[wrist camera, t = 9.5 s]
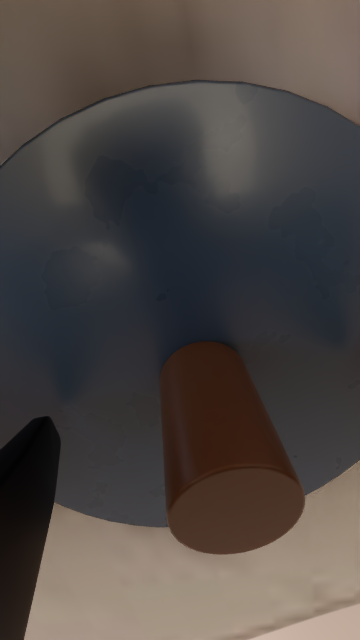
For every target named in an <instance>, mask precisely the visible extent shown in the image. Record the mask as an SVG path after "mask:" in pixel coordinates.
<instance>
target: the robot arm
mask: <svg viewBox="0 0 360 640" xmlns="http://www.w3.org/2000/svg"><path fill="white" fill-rule="evenodd" d="M60 449H61V439H60V436H59V434H58V431H57V429H56V427H55V425H54V423H53V421H52V419H51V418H50V417H49V416H43V417H38V418H34V419H32V420H31V421H30V422H29V423H28V424H27V425H26V426H25V427H24V428H23V429H22V430H21V431H19V432H18V433H17V434H16V435H15V436H14V437H13V438H12V439H11V440H10V441H9V442H8V443H7V444H6V445H5V446H4V447H2V448H1V449H0V640H24V636H25V632H26V627H27V623H28V618H29V614H30V609H31V605H32V600H33V596H34V591H35V587H36V582H37V578H38V573H39V569H40V564H41V560H42V555H43V551H44V546H45V542H46V537H47V533H48V528H49V523H50V519H51V514H52V510H53V505H54V500H55V493H56V485H57V476H58V467H59V458H60Z"/></svg>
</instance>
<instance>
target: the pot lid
mask: <svg viewBox="0 0 360 640" xmlns="http://www.w3.org/2000/svg"><path fill="white" fill-rule="evenodd" d="M43 416H49V417H50V418H51V419H52V421H53V423H54V425H55V427H56V429H57V431H58V434H59V436H60V439H61V449H60V458H59V467H58V476H57V485H56V493H55V500H54V502H56V503H58V504H60V505H62V506H64V507H67V508H69V509H72V510H75V511H78V512H80V513H83V514H86V515H89V516H93V517H96V518H100V519H104V520H108V521H112V522H118V523H123V524H129V525H136V526H147V527H169V529H170V531H171V533H172V534H173V536H174V537H175V538H176V539H177V540H178V541H179V542H180V543H182V544H183V545H185V546H186V547H188V548H190V549H193V550H196V551H199V552H203V553H209V554H236V553H242V552H247V551H251V550H254V549H257V548H260V547H263V546H265V545H267V544H269V543H271V542H273V541H275V540H277V539H278V538H280V537H281V536H283V535H284V534H286V533H287V532H288V531H289V530H290V529H291V528H292V527H293V526H294V525H295V524H296V523H297V521H298V520H299V518H300V516H301V514H302V512H303V509H304V505H305V495H307V494H309V493H311V492H313V491H315V490H316V489H318V488H320V487H322V486H323V485H325V484H326V483H328V482H330V481H331V480H333V479H334V478H336V477H337V476H339V475H340V474H342V473H343V472H344V471H346V470H347V469H348V468H350V467H351V466H352V465H354V464H355V463H356V462H358V461H359V460H360V126H359V125H357V124H355V123H354V122H352V121H350V120H349V119H347V118H345V117H344V116H342V115H340V114H339V113H337V112H335V111H334V110H332V109H331V108H329V107H327V106H325V105H322V104H320V103H317V102H314V101H312V100H309V99H307V98H304V97H302V96H299V95H297V94H294V93H291V92H289V91H285V90H281V89H276V88H271V87H266V86H261V85H257V84H252V83H247V82H238V81H213V80H191V81H183V82H174V83H166V84H158V85H149V86H146V87H142V88H139V89H135V90H132V91H128V92H125V93H121V94H118V95H115V96H111V97H108V98H104V99H102V100H100V101H97V102H95V103H93V104H91V105H89V106H87V107H85V108H83V109H80V110H78V111H76V112H74V113H72V114H70V115H68V116H65V117H63V118H61V119H60V120H58V121H57V122H55V123H54V124H52V125H51V126H49V127H48V128H46V129H45V130H44V131H42V132H41V133H39V134H38V135H36V136H35V137H33V138H32V139H30V140H29V141H27V142H26V143H25V144H23V145H22V146H21V147H20V148H19V149H18V150H17V151H16V152H15V153H14V154H13V155H12V156H11V157H9V158H8V159H7V160H6V161H5V162H4V163H3V164H2V165H1V166H0V449H1V448H2V447H4V446H5V445H6V444H7V443H8V442H9V441H10V440H11V439H12V438H13V437H14V436H15V435H16V434H17V433H18V432H19V431H21V430H22V429H23V428H24V427H25V426H26V425H27V424H28V423H29V422H30V421H31V420H32V419H34V418H38V417H43Z"/></svg>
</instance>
